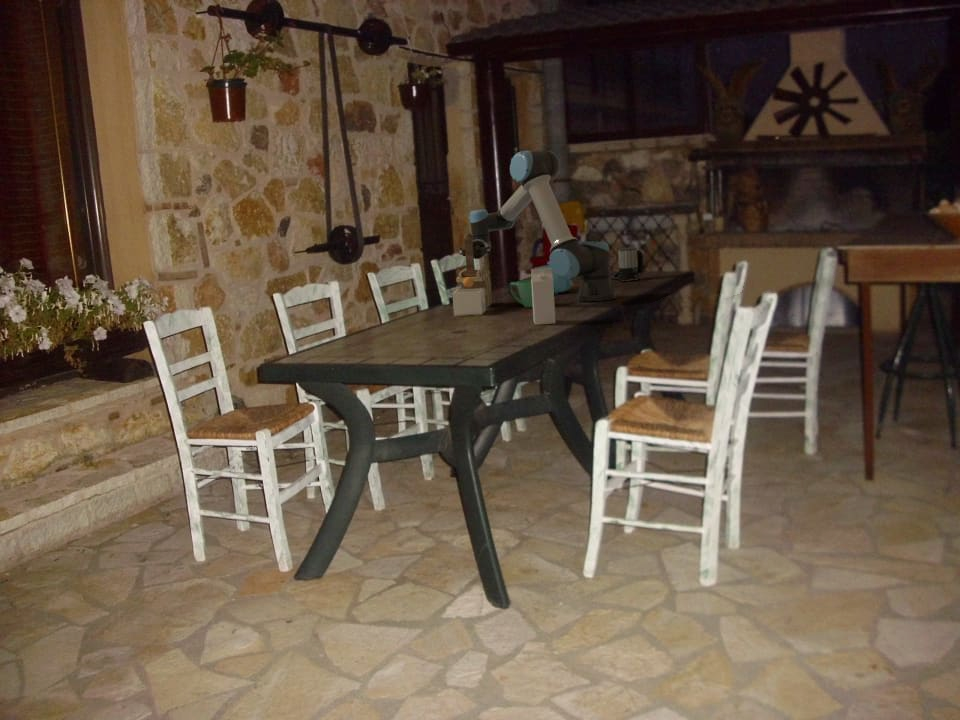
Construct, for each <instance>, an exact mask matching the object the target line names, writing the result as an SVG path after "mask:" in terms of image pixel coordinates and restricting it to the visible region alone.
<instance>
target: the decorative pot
mask: <svg viewBox="0 0 960 720" xmlns="http://www.w3.org/2000/svg"><path fill="white" fill-rule="evenodd" d="M546 264H547V265H541V266H538V267H534V268H533V269H544V268H550V264H549V261H547V263H546ZM552 276H553V288H554V294H555V295H559V294H558V293H565V292H567V291H568V290H569V289H570V288H572V287H573V286H574V283H573V281H572V280H571V279H572V278H560V277H558V276H556V275H555V274H554V273H553V271H552ZM564 291H565V292H564Z"/></svg>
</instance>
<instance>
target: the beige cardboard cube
mask: <svg viewBox="0 0 960 720" xmlns="http://www.w3.org/2000/svg"><path fill="white" fill-rule="evenodd" d="M451 296H452V306H453V316H454V317H467V316H468V315H469V316H470V317H471V315H473V316H482V315H484V314H485V313H486V311H487V308H486V304H485V290H484V288H474V289H461V288H459V289H455V290H454V291H453V292H452V295H451ZM469 316H468V317H469Z"/></svg>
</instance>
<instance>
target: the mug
mask: <svg viewBox="0 0 960 720" xmlns="http://www.w3.org/2000/svg"><path fill="white" fill-rule="evenodd" d="M507 286H508V287H507V288H508V293H509V295H510V296H511V298H513V300H515V302H517V303H519V304H521V305H522V306H523V307H524V308H533V302H532V286H531V279H523V280H522V279H521V280H518V281H516V282H515V281H511V282H510V283H509V284H508V285H507ZM513 286H515V287H517V291H518V296H519V297H518V296H517V294H516V293H515V292H514V290H513V289H514V288H513Z"/></svg>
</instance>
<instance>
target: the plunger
mask: <svg viewBox="0 0 960 720" xmlns="http://www.w3.org/2000/svg"><path fill="white" fill-rule="evenodd" d="M463 239H464V241H463V242H464V249H465V256H464V257H465V265H466V267H465V268H466V269H467V270H464V269H463V270H464V271H463V277H465V276H476V272H477V271H478V270H479V269H475V259H474V254H473V240H472V233H470V232H466V233H465V234H464V235H463Z"/></svg>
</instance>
